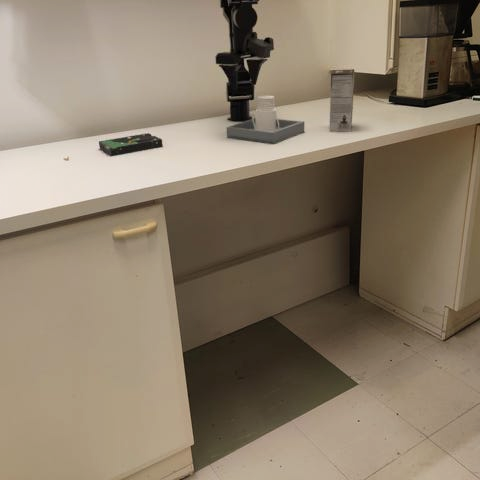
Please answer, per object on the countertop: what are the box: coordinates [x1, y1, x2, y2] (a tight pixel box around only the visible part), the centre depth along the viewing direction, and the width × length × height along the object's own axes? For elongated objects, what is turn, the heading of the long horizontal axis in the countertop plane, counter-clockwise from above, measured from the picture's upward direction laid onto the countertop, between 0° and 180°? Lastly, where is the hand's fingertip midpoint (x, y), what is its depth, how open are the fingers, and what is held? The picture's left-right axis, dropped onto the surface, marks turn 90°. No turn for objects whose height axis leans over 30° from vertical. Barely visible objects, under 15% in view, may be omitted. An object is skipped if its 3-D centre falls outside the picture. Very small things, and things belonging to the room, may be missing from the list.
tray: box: [226, 117, 305, 145], centre depth 138 cm, size 16×16×3 cm
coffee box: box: [329, 68, 355, 132], centre depth 139 cm, size 9×6×16 cm
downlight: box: [251, 94, 279, 132], centre depth 136 cm, size 8×7×10 cm
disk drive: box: [98, 132, 164, 157], centre depth 132 cm, size 10×3×15 cm
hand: (244, 87), depth 139 cm, fingers open, 9 cm apart
